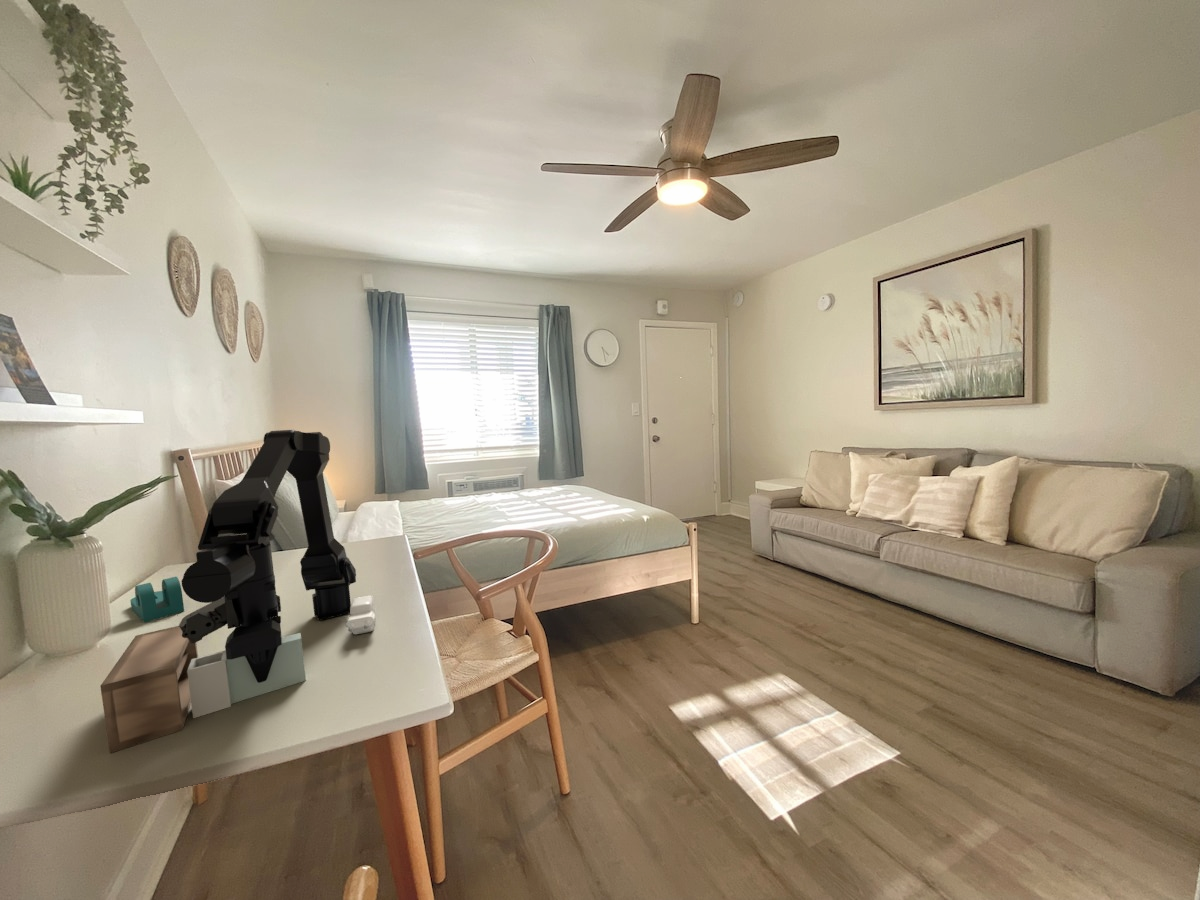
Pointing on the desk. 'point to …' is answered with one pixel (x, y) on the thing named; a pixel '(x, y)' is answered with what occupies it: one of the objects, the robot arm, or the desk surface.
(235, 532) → the robot arm
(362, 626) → the power adapter
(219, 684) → the grey block with opening
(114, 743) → the cabinet
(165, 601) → the bracket
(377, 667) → the desk surface
